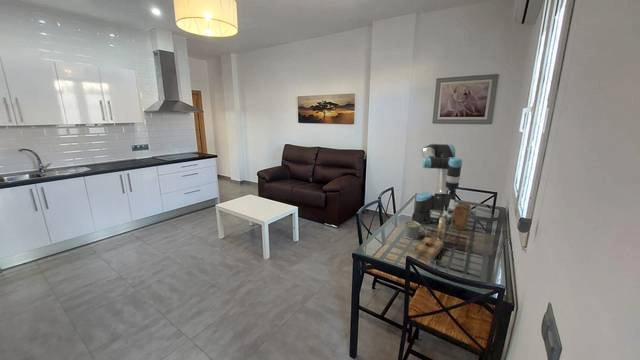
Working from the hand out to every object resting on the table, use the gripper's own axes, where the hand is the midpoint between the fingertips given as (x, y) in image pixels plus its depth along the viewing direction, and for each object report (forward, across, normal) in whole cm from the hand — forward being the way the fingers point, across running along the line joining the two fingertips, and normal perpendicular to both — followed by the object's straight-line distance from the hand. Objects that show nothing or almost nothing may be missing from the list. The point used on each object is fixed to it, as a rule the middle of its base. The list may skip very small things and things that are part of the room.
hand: (448, 211), depth 173 cm
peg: (+23, -3, +2) cm, 23 cm away
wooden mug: (+23, +53, +14) cm, 59 cm away
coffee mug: (+23, -6, +19) cm, 31 cm away
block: (+23, +28, -3) cm, 37 cm away
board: (+23, -18, +5) cm, 29 cm away
